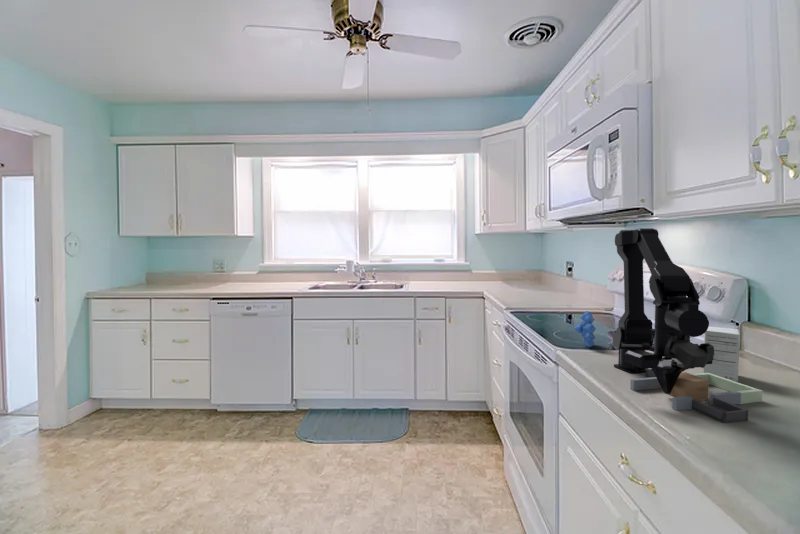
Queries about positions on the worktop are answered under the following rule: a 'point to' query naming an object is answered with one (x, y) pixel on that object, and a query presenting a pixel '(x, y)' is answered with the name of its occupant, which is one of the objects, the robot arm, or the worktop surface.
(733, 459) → the worktop surface
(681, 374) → the walnut block
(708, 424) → the worktop surface
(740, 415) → the box
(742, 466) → the worktop surface
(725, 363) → the supplement box
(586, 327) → the grapes
